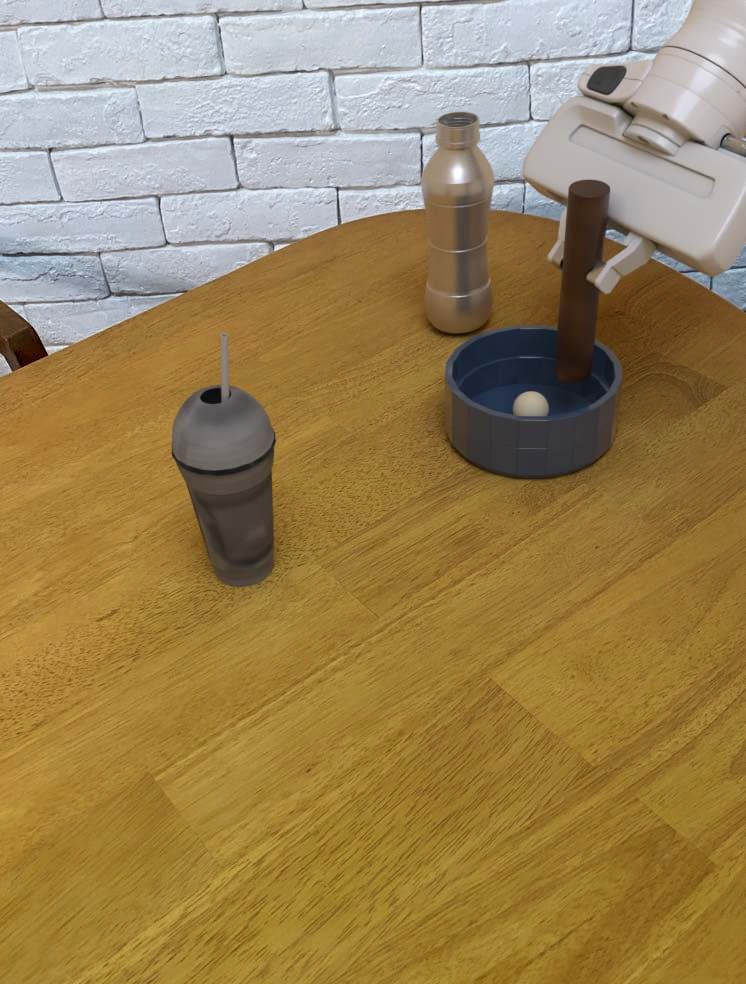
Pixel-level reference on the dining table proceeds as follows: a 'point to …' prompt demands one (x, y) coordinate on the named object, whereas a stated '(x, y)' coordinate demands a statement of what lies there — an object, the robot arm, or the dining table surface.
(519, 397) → the dough ball
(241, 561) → the beverage cup
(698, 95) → the robot arm
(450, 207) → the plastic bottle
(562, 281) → the stick
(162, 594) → the dining table surface
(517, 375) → the bowl
